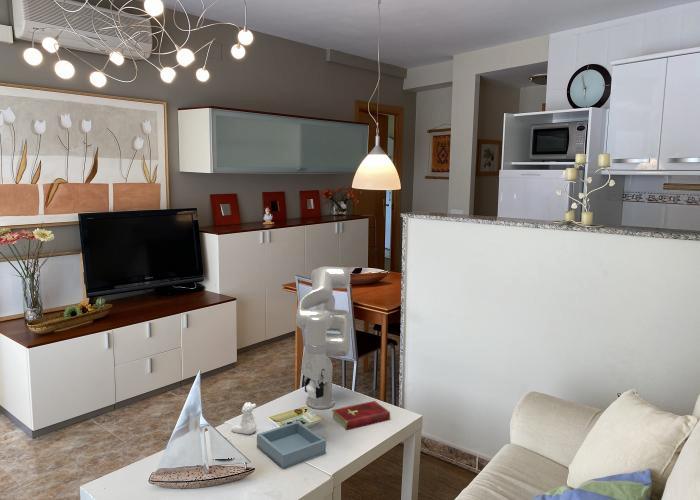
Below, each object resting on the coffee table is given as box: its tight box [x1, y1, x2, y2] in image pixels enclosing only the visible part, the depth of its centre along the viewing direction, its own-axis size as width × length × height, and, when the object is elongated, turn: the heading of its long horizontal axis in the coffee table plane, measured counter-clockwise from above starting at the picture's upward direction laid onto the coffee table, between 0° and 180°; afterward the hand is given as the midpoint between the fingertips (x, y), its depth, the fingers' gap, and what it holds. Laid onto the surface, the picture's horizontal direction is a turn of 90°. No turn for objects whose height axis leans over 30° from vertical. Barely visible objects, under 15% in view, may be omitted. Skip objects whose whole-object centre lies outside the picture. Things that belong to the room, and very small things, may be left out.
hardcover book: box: [331, 400, 391, 431], centre depth 222 cm, size 12×21×4 cm, turn 120°
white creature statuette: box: [230, 401, 258, 435], centre depth 208 cm, size 10×9×12 cm
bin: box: [256, 421, 327, 470], centre depth 195 cm, size 18×18×5 cm
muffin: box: [306, 380, 317, 398], centre depth 201 cm, size 6×6×7 cm
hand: (314, 393), depth 202 cm, fingers closed on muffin, 6 cm apart
